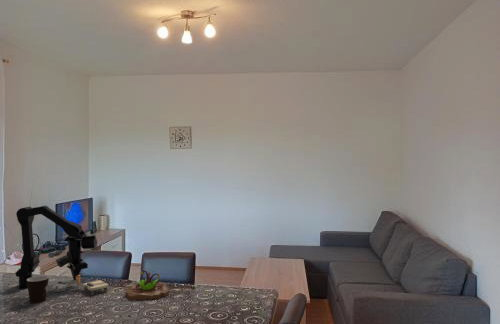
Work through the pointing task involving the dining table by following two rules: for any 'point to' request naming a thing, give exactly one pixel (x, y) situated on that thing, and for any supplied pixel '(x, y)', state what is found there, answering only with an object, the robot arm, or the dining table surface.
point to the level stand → (93, 286)
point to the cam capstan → (65, 284)
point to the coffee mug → (37, 288)
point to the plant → (147, 289)
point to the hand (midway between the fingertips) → (74, 280)
